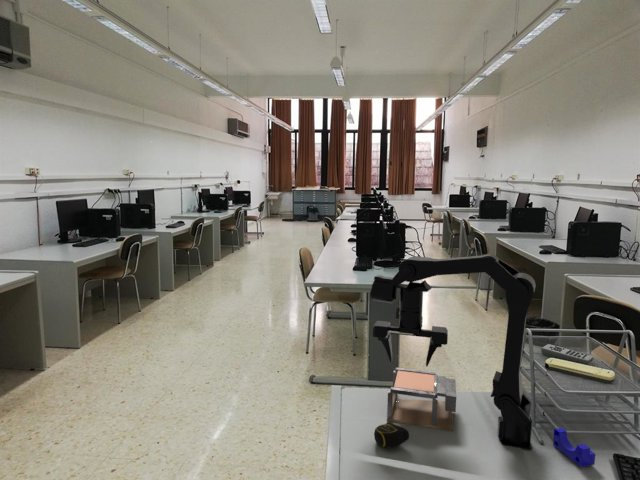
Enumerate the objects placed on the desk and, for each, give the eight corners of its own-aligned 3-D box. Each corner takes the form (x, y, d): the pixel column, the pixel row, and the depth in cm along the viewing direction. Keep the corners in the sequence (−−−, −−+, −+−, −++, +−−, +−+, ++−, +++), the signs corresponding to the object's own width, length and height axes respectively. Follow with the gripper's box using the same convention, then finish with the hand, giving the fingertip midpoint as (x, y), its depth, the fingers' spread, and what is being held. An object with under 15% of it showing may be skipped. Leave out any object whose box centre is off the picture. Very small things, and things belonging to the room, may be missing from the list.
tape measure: (412, 443, 97) (409, 427, 97) (388, 454, 94) (385, 437, 94) (393, 434, 103) (390, 419, 103) (370, 444, 100) (367, 428, 100)
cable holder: (594, 464, 93) (596, 447, 92) (580, 466, 92) (582, 449, 91) (565, 442, 101) (567, 426, 100) (552, 444, 100) (554, 428, 99)
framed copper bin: (451, 403, 117) (453, 374, 116) (452, 431, 104) (454, 398, 103) (393, 395, 122) (393, 366, 121) (386, 420, 109) (387, 388, 108)
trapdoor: (454, 393, 115) (455, 377, 114) (455, 412, 106) (456, 394, 105) (397, 385, 119) (397, 369, 119) (393, 403, 110) (393, 386, 109)
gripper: (448, 300, 115) (445, 356, 118) (379, 295, 121) (377, 348, 123) (448, 312, 105) (445, 373, 107) (373, 305, 110) (371, 363, 112)
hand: (408, 363), depth 112 cm, fingers open, 9 cm apart
